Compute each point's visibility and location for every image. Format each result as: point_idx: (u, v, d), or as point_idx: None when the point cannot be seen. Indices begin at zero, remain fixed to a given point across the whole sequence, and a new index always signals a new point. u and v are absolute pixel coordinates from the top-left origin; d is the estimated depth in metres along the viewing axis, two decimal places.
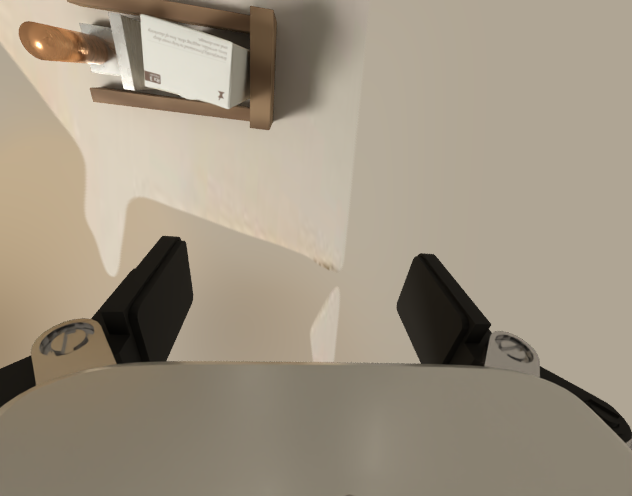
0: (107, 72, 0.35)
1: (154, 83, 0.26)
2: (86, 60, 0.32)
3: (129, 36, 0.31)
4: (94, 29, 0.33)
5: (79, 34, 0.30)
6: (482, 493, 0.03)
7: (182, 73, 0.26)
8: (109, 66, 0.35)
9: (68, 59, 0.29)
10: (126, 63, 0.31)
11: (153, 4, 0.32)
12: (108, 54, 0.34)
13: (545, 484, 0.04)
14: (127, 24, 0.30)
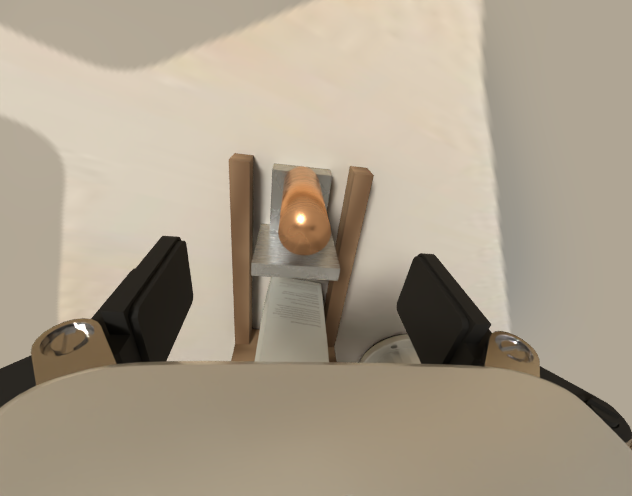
0: (274, 192, 0.24)
1: None
2: None
3: None
4: (324, 192, 0.24)
5: None
6: (482, 493, 0.03)
7: None
8: (282, 197, 0.24)
9: None
10: (284, 274, 0.22)
11: (347, 267, 0.28)
12: None
13: (545, 484, 0.04)
14: None
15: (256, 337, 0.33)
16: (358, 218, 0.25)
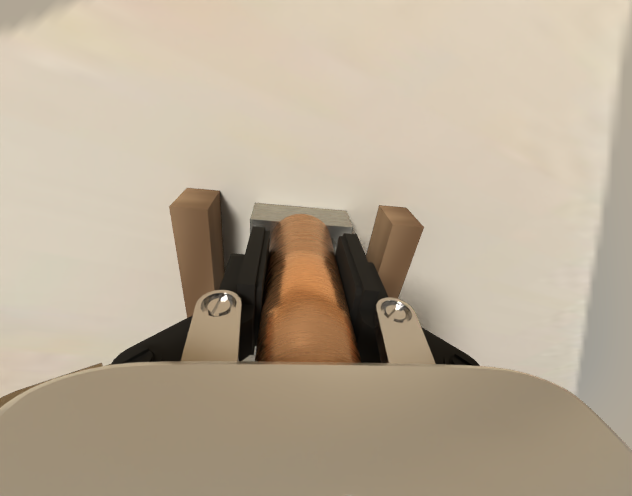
0: None
1: None
2: None
3: None
4: None
5: None
6: (482, 493, 0.03)
7: None
8: None
9: None
10: None
11: None
12: None
13: (545, 484, 0.04)
14: None
15: None
16: (392, 289, 0.15)
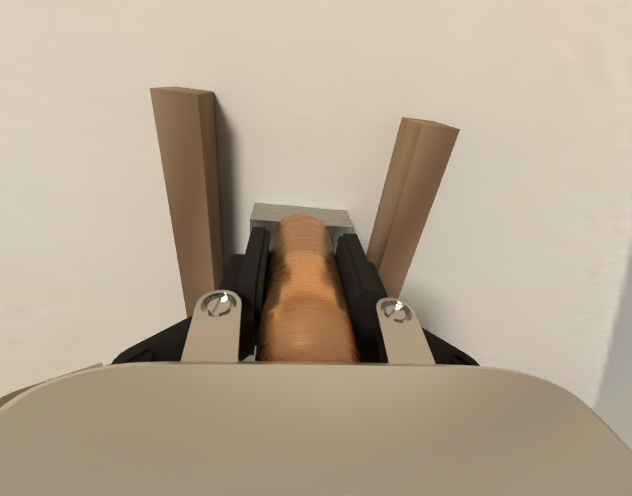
0: None
1: None
2: None
3: None
4: None
5: None
6: (482, 493, 0.03)
7: None
8: None
9: None
10: None
11: None
12: None
13: (545, 484, 0.04)
14: None
15: None
16: (417, 217, 0.13)
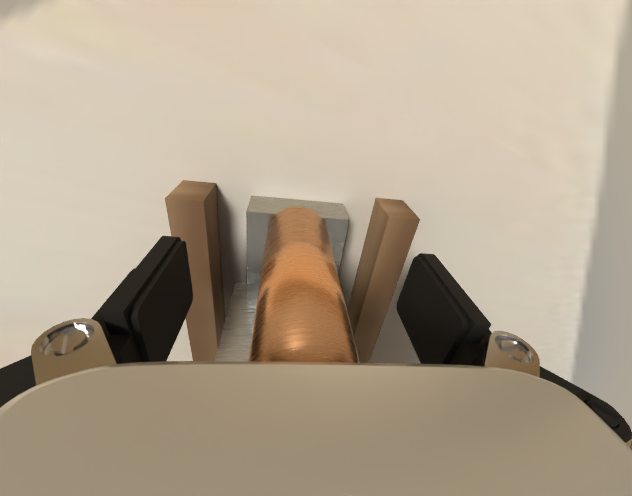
0: (251, 246, 0.14)
1: None
2: None
3: None
4: (336, 245, 0.14)
5: None
6: (482, 493, 0.03)
7: None
8: (264, 253, 0.14)
9: None
10: None
11: (366, 345, 0.18)
12: None
13: (545, 484, 0.04)
14: None
15: None
16: (389, 282, 0.16)
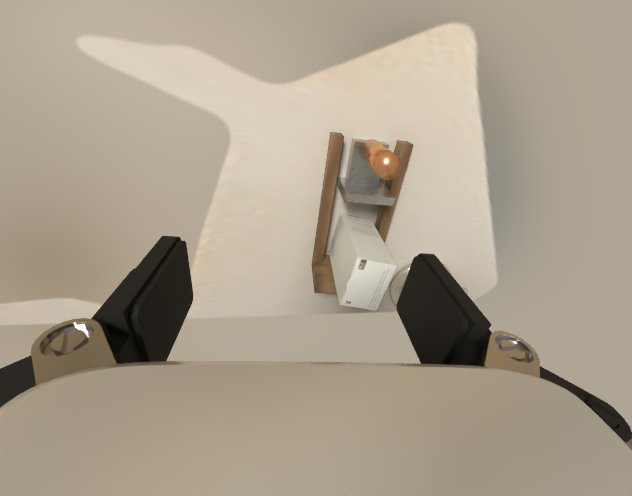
0: (354, 155, 0.40)
1: (358, 265, 0.35)
2: (367, 162, 0.37)
3: None
4: None
5: None
6: (482, 493, 0.03)
7: (363, 283, 0.36)
8: (358, 158, 0.40)
9: (372, 168, 0.34)
10: (363, 201, 0.38)
11: None
12: (366, 161, 0.40)
13: (545, 484, 0.04)
14: None
15: (326, 259, 0.50)
16: (402, 172, 0.41)
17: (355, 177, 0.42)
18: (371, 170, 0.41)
